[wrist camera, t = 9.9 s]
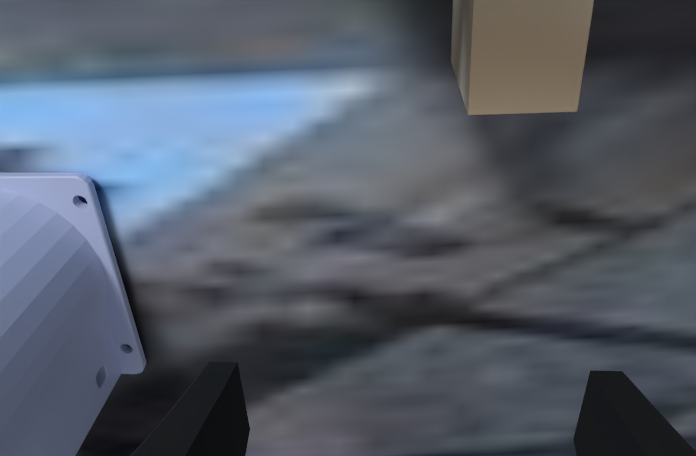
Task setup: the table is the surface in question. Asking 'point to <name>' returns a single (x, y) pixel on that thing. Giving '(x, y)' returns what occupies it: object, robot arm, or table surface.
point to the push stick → (520, 54)
